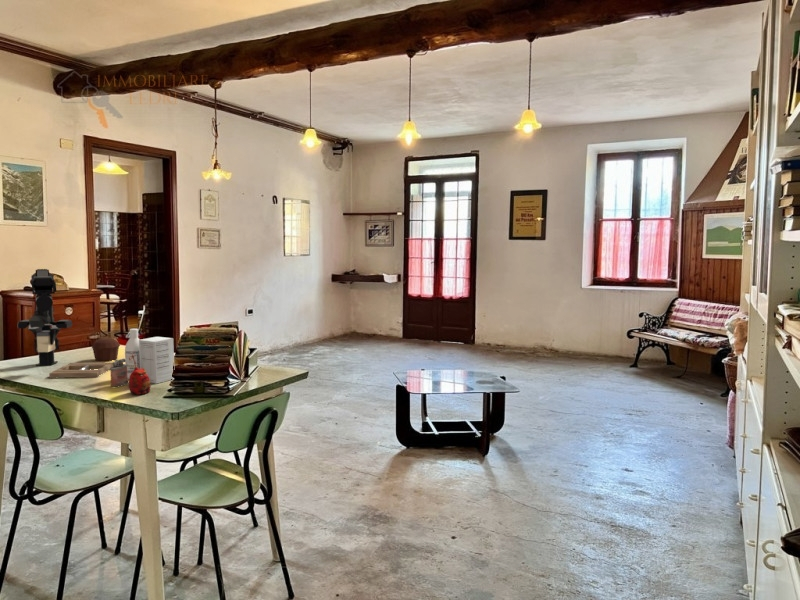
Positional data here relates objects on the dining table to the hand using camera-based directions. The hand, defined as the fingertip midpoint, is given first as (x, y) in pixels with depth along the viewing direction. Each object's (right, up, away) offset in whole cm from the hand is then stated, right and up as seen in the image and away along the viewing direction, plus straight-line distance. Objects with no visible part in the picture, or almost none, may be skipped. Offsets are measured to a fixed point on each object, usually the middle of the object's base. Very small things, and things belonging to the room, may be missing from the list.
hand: (46, 344), depth 226 cm
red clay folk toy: (+51, -16, -26) cm, 60 cm away
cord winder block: (0, -3, 0) cm, 3 cm away
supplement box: (+50, -14, -8) cm, 52 cm away
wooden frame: (+14, -12, +3) cm, 18 cm away
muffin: (+10, -10, +28) cm, 31 cm away
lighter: (+39, -15, -16) cm, 44 cm away
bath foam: (+39, -13, -4) cm, 41 cm away
